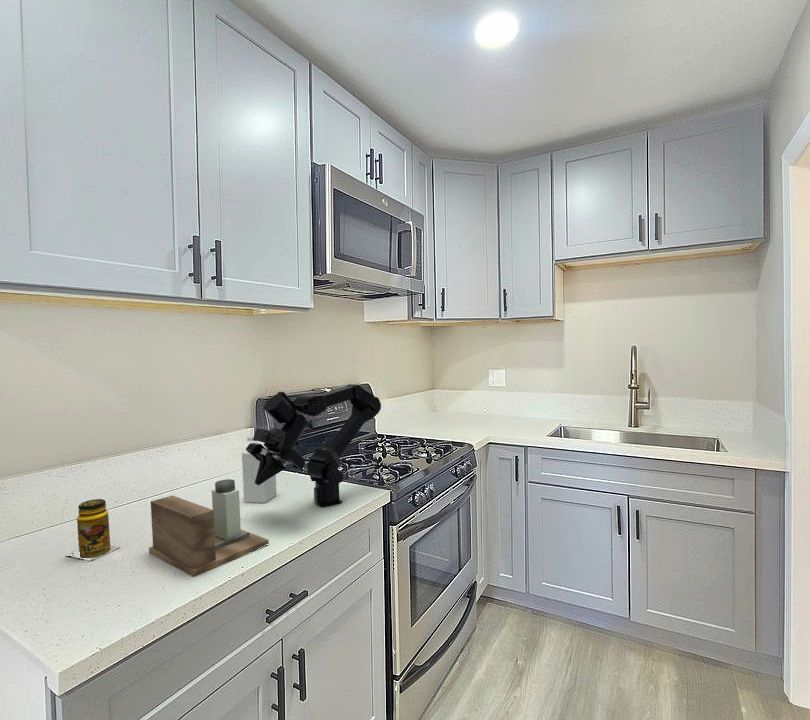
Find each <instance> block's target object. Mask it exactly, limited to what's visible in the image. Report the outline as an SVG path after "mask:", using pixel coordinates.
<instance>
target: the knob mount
mask: <svg viewBox="0 0 810 720" xmlns="http://www.w3.org/2000/svg"><path fill="white" fill-rule="evenodd" d="M150 518H151V532H152V534H151V535H152V546H149V547H148V553H149V554H151V555H153V556H155V557H156V558H158V559H160V560H162V561H164V562H165V563H167V564H169V565H171V566H174V568H177V569H178V568H179V570H181V571H182V572H184V573H186V574H187V573H188V574H187V575H189V574H190V576H191V575H192V577H193V576H195V577H197V576H199V574H200V575H201V573H202V574H204V573H206V571H207V572H209V571H211V570H213V568H214V569H215V568H218V567H221V566H222V564H223V565H225V564H227V562H228V563H230V562H232V561H235V560H237V559H239V558H241V557H243V555H244V556H246V555H248V554H250V553H249V552H251V551H253V550H255V551H257V550H256V549H258V548H260V547H262V546H264V545H266V544H269V545H270V540H269V539H268V538H265V537H262V536H260V535H257V534H255V533H252V532H250V531H247V530H244V529H242V528H241V535H238V536H235V537H233V538H230V539H228V540H224V539H222V538H220V537H217V536H215V531H214V511H213V508H212V509H211V508H208V507H206V506H203V505H200V504H197V503H195V502H191V501H189V500H186V499H183V498H180V497H178V496H175V495H173V494H172V495H169V496H166V497H162V498H158V499H155V500H151V501H150ZM262 548H263V547H262ZM260 549H261V548H260ZM258 550H259V549H258ZM253 552H254V551H253ZM247 553H248V554H247ZM251 553H252V552H251ZM245 554H246V555H245ZM236 558H237V559H236ZM234 559H235V560H234ZM220 565H221V566H220ZM196 575H197V576H196Z"/></svg>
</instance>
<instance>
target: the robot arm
mask: <svg viewBox="0 0 810 720" xmlns="http://www.w3.org/2000/svg"><path fill="white" fill-rule="evenodd" d="M346 401H349V403H350V404H351V405H352V407H351V414H350V416H349V417H348V418H347V420H346V422H345V423H343V425H342V426H341V428H340V429H339V430H338V432H337V433H336V435H335V436H334V437H333V438H332V439H331V441H330V442H329V444H328V445H327V446H326V447H325V448H324V449H322V448H316V449H315V450H314V451H313V454H312V455H311V456H310V457H308V462H307V464H306V459H305V458H304V457H303V456H302V455H301V453H299V452H298V451H297V450H296V449H294V447H297V448H298V447H299V446H300V442H298V441H299V440H300V438H301V436H302V435H303V433H304V431H305V430H310V431H311V430H312V431H313V429H314V426H313V422H312V421H313V420H312V419H308V418H306V417H305V416H307V417H317V416H319V415H321V414H322V413H324V412H325V411H326V410H327V409H328V408H330V407H332V406H335V405H337V404H340V403H343V402H346ZM381 409H382V404H381V401H380V398H379V397H377V396H375V395H374V394H373V393H371V392H369V391H367V390H365V388H364V387H362V386H360V385H359V384H347V385H345V386H342V387H339V388H336V389H332V390H329V391H326V392H323V393H319V394H318V393H317V394H316V393H315V394H313V393H312V394H311V393H310V394H300V395H298V396H297V397H296V398H295V400H291V399H290V398H289V397H288V395H287V394H286V392H285V391H278V392H277V393H276V394H275V395H273V396H271V397H270V398H268V399H267V400H265V402H264V404H263V410H264V411H265V412H266V413H267V414H268V415H269V416H270V417H271V418H272V419H273V420H274V421H275V422H276V423H277V424H282V426H281V427H280V428H276V427H272V428H271V429H264V428H258V427H256V429H255V432H254V434H253V440H254V441H260V442H263V443H264V444H263V445H264V446H265V447H267V448H268V450H267V449H266V448H265V447H264V446H263V445H262V444H258V443H250V444H249V445H248V447H247V448H246V451H247V452H249V453H250V454H251V455H252V456H253V457H254V458H256V459H257V460H258V461H260V464H259V468H258V472H257V476H256V479H255V484H256V485H260V484H262V483H263V482H265V481H266V480H268V479H269V478H271V477H272V476H274V475H278V474H279V473H280V472H282V471H286V470H287V467H286V466H287V464H288V463H292V464H293V468H294V470H297V471H303V469H304V467H305V466H306V467H307V468H306V471H307V474H308V476H309V477H310V480H311V482H315V483H314V484H315V487H313V501H314V503H316V504H317V505H318V506H319V507H321V508H322V507H323V508H324V507H327V506H328V507H329V506H333V505H338V504H342V502H343V501H342V500H341V499H340V483H342V482H343V481H344V477H345V476H344V475H345V474H344V473H343V471H340V469H339V468H340V461H341V460H340V459H341V456H342V455H343V453H345V451H346V449H347V448H348V447H349V445H350V444H351V442H352V441H353V440H354V438H355V437H356V435H357V434H358V433H359V431H360V430H361V429H362V427H363V426H364V425H365V424H366V422H369V421H371V420H372V419H375V417H376V416H377V415H378V414H379V413H380V412H381ZM272 454H273V455H272Z"/></svg>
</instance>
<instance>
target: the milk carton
mask: <svg viewBox="0 0 810 720" xmlns="http://www.w3.org/2000/svg"><path fill="white" fill-rule="evenodd" d="M253 437H254V436H253ZM253 437H249V436H248V437H246V438H247V439H246V443H245V445H244V447H243V450H242V452H241V464H242V465H241V466H242V484H243V485H242V486H243V487H242V490H243V501H244V503H259V504H266V503H268V502H269V501H270V500H272V499H273V498H274V497H276V496H277V495H278V494H277V476H276V475H277V474H276V475H274V476H272V477H271V478H269V479H268V480H266V481H265V482H263V483H262V484H260V485H256V484H255V479H256V476H257V472H258V468H259V464H260V461H258V460H257V459H256V458H254V457H253V456H252V455H251V454H250V453H249V452H247V451H246V448H247V447H248V445H249V444H250V443H258V444H262V445H263V444H264V443H263V442H260V441H254V440H253ZM263 446H264V445H263ZM264 447H265V446H264ZM265 448H266V449H267V450H268V448H267V447H265ZM272 455H273V454H272Z"/></svg>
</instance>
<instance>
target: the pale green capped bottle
mask: <svg viewBox="0 0 810 720" xmlns="http://www.w3.org/2000/svg"><path fill="white" fill-rule="evenodd" d="M211 501H212V502H211V504H212V505H211V506H212V510H213V511H214V531H215V536H217V537H220V538H222V539H224V540H228V539H230V538H233V537H235V536H238V535H241V529H242V527H241V508H240V506H241V505H240V489H239V490H238V489H236V483H235V479H231V478H230V479H229V478H228V479H227V478H226V479H221V480H217V481H216V482H214V489H212V490H211Z"/></svg>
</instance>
